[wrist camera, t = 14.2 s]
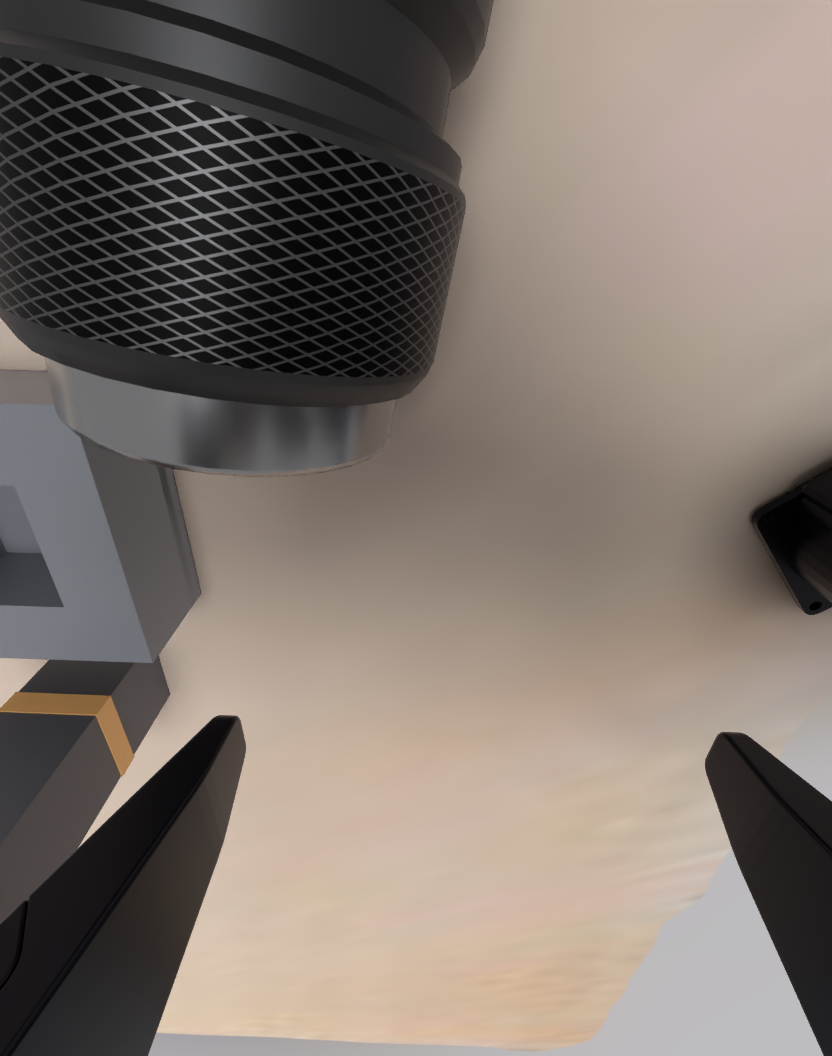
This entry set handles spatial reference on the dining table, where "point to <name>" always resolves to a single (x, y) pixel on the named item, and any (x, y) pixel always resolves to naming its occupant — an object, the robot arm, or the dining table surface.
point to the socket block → (84, 540)
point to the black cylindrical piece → (231, 218)
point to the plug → (66, 760)
